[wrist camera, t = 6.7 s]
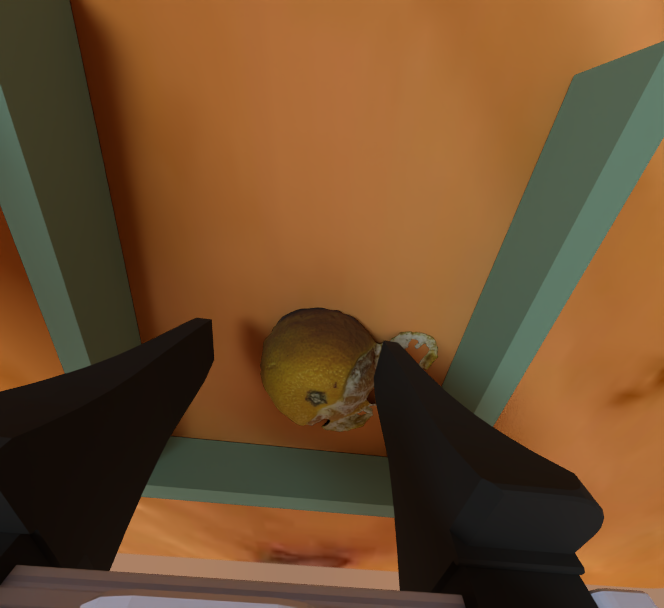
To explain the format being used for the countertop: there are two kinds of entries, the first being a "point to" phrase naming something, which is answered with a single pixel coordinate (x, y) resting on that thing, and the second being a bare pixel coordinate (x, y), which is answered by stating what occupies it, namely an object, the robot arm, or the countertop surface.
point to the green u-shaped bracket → (114, 292)
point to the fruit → (326, 367)
